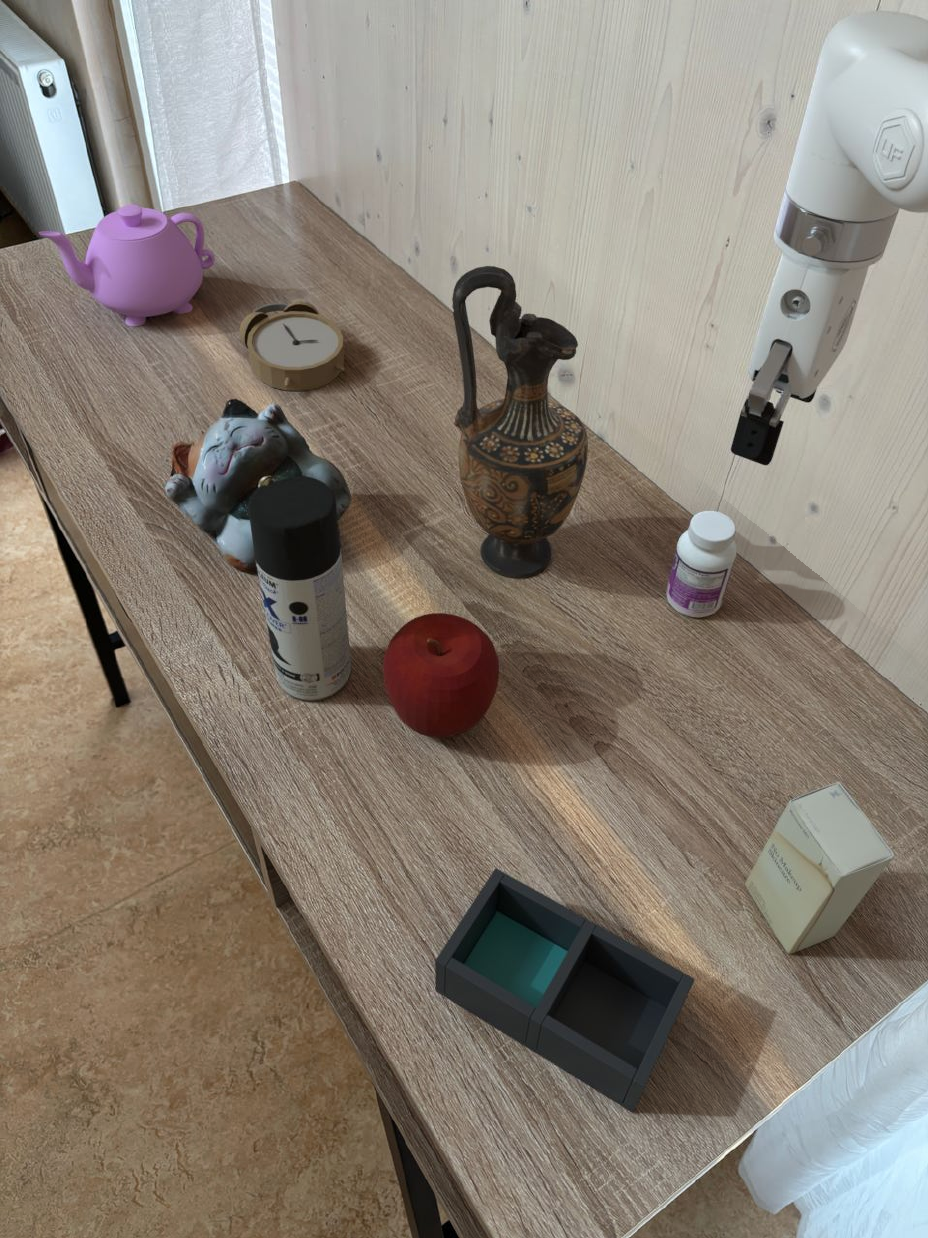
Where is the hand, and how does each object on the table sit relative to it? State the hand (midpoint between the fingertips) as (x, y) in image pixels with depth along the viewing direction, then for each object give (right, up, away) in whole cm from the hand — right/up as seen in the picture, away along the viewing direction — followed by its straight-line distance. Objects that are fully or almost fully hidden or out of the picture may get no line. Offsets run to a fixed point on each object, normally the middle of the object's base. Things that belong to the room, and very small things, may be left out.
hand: (772, 425), depth 82 cm
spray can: (-38, -21, +8) cm, 44 cm away
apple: (-27, -24, +5) cm, 36 cm away
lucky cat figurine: (-45, -7, +20) cm, 50 cm away
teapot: (-66, +24, +48) cm, 85 cm away
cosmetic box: (-1, -37, -6) cm, 38 cm away
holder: (-18, -42, -11) cm, 47 cm away
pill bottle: (-3, -14, +15) cm, 21 cm away
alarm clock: (-46, +16, +41) cm, 63 cm away
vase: (-20, -9, +19) cm, 29 cm away
